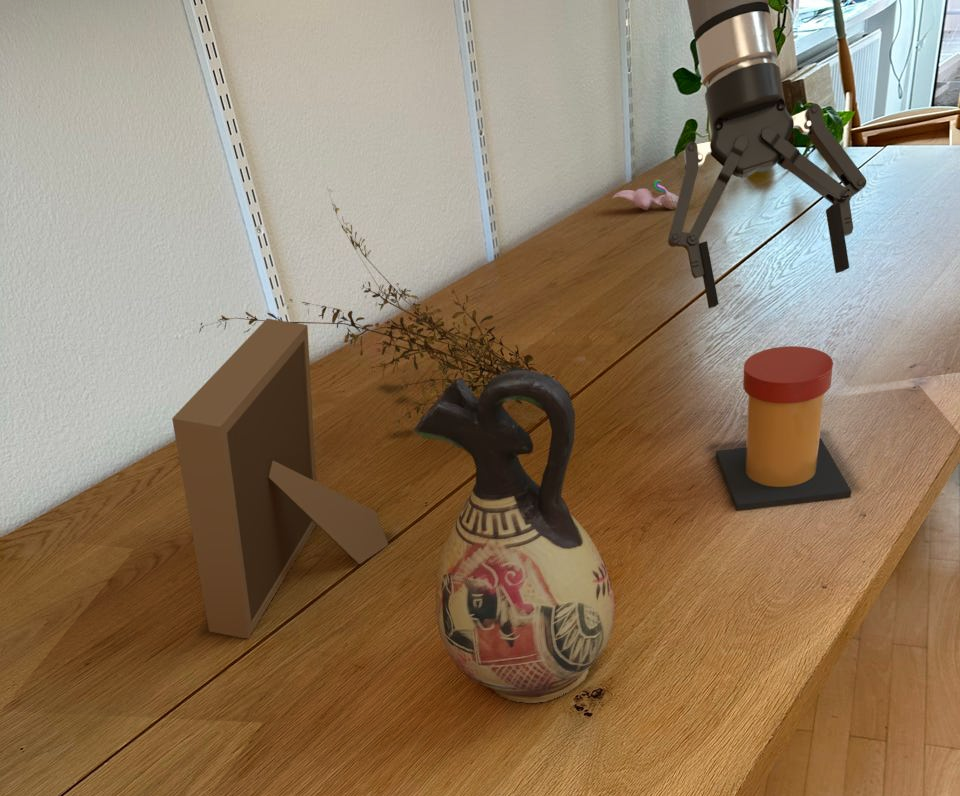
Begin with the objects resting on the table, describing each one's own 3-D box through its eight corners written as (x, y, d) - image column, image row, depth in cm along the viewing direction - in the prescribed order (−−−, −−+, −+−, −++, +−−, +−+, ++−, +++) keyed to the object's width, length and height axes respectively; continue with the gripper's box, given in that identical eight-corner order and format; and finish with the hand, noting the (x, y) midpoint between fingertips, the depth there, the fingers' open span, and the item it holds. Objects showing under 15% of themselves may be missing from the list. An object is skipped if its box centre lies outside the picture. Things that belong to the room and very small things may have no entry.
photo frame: (212, 638, 94) (114, 421, 78) (286, 522, 110) (218, 322, 94) (344, 641, 91) (269, 413, 75) (401, 520, 106) (349, 311, 90)
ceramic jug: (425, 719, 80) (341, 411, 61) (486, 611, 91) (431, 319, 72) (610, 752, 74) (581, 420, 55) (654, 632, 84) (642, 319, 65)
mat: (820, 443, 105) (820, 437, 105) (850, 497, 96) (851, 491, 96) (716, 456, 107) (716, 450, 106) (736, 510, 97) (736, 504, 97)
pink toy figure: (686, 209, 184) (614, 201, 187) (691, 178, 180) (617, 170, 183) (681, 219, 179) (608, 210, 183) (686, 187, 175) (611, 179, 179)
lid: (818, 361, 97) (819, 341, 96) (841, 397, 91) (844, 376, 89) (735, 372, 98) (736, 352, 97) (752, 408, 92) (753, 387, 90)
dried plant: (628, 254, 113) (302, 120, 115) (557, 386, 93) (167, 221, 95) (558, 439, 136) (289, 325, 138) (490, 574, 117) (179, 439, 119)
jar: (806, 448, 103) (815, 348, 96) (824, 482, 98) (835, 378, 90) (739, 457, 104) (742, 358, 97) (753, 491, 98) (758, 388, 91)
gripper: (856, 50, 94) (887, 260, 98) (620, 125, 98) (659, 323, 103) (877, 20, 87) (909, 249, 91) (621, 103, 91) (664, 317, 96)
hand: (777, 289), depth 97 cm, fingers open, 13 cm apart
